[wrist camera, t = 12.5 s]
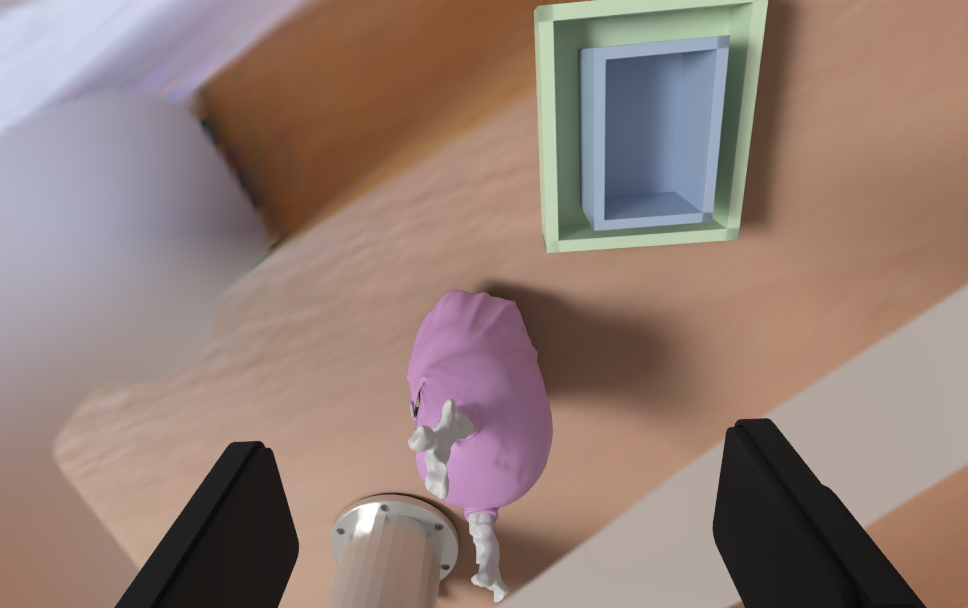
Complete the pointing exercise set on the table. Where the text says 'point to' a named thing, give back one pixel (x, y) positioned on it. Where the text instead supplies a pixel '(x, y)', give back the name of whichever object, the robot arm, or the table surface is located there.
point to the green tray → (558, 35)
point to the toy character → (478, 414)
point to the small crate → (650, 131)
